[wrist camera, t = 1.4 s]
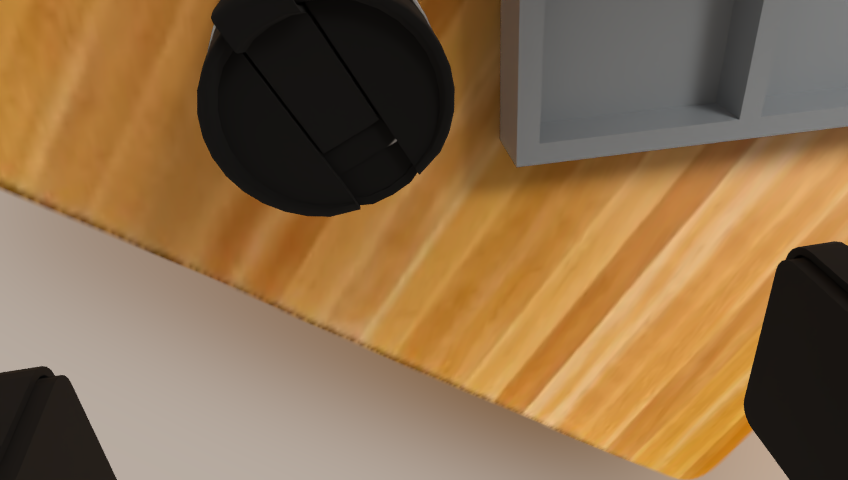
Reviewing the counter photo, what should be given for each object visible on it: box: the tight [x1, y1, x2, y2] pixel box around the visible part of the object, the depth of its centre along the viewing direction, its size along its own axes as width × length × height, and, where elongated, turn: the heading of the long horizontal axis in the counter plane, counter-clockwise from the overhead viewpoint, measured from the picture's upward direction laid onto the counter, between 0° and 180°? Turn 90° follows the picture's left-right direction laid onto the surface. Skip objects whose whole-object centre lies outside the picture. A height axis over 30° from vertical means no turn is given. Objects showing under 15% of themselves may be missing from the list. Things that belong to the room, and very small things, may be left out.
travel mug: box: [197, 0, 455, 217], centre depth 25 cm, size 6×7×20 cm
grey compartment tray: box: [500, 0, 848, 167], centre depth 36 cm, size 13×26×4 cm, turn 93°
